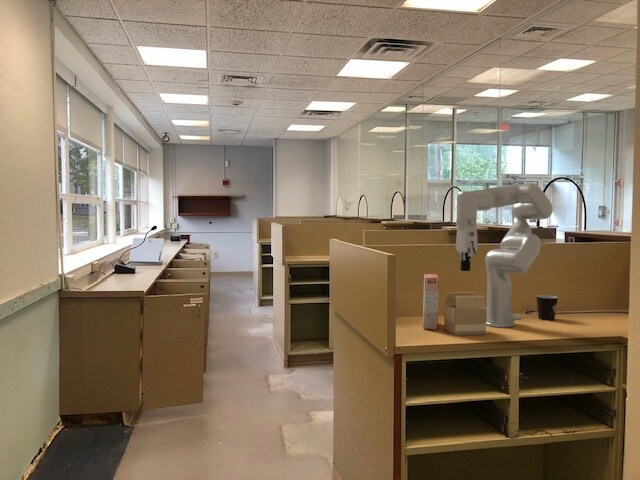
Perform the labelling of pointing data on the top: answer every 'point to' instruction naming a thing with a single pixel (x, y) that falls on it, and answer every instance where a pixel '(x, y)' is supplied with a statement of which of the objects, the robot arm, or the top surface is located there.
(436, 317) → the cracker box
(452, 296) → the far flap
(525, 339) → the top surface
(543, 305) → the coffee mug
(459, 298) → the near flap
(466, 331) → the carton
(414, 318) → the top surface
